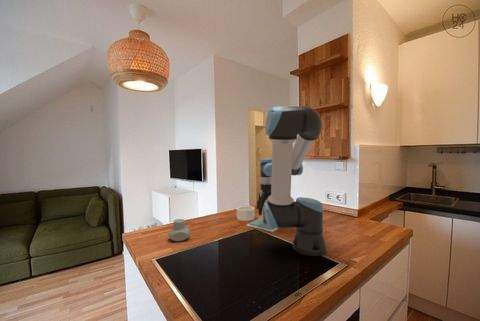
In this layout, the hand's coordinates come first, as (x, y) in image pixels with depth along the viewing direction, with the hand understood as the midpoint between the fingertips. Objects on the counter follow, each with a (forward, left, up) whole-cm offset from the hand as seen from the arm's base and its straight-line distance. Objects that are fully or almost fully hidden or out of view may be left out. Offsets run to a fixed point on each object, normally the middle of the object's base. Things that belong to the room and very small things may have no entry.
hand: (266, 217), depth 133 cm
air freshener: (-46, +26, -5) cm, 53 cm away
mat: (0, 0, -4) cm, 4 cm away
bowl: (+2, +18, -4) cm, 19 cm away
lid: (0, 0, -4) cm, 4 cm away
